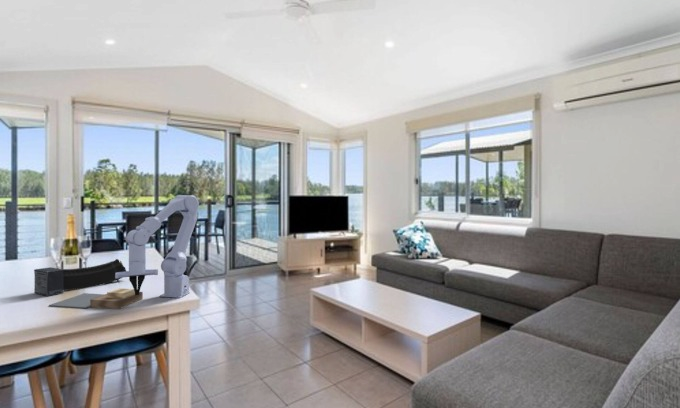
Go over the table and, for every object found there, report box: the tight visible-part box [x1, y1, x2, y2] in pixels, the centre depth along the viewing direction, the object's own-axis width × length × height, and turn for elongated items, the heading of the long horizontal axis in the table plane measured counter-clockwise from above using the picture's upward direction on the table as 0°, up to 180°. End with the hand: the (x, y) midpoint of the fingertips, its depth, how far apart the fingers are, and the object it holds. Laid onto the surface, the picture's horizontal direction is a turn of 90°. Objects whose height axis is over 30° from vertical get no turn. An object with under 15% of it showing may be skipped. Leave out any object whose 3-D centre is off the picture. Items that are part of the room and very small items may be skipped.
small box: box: [33, 267, 64, 297], centre depth 149 cm, size 11×6×10 cm, turn 65°
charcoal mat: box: [48, 292, 106, 309], centre depth 140 cm, size 16×16×1 cm
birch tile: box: [106, 288, 134, 298], centre depth 138 cm, size 7×6×2 cm
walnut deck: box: [89, 291, 143, 310], centre depth 138 cm, size 12×13×3 cm
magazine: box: [56, 258, 127, 291], centre depth 161 cm, size 17×3×30 cm
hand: (137, 294), depth 137 cm, fingers closed
